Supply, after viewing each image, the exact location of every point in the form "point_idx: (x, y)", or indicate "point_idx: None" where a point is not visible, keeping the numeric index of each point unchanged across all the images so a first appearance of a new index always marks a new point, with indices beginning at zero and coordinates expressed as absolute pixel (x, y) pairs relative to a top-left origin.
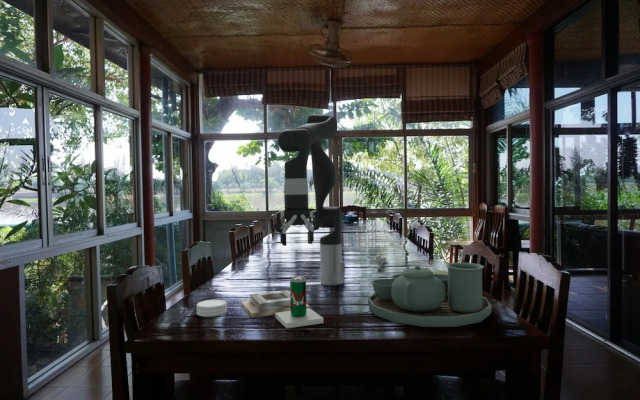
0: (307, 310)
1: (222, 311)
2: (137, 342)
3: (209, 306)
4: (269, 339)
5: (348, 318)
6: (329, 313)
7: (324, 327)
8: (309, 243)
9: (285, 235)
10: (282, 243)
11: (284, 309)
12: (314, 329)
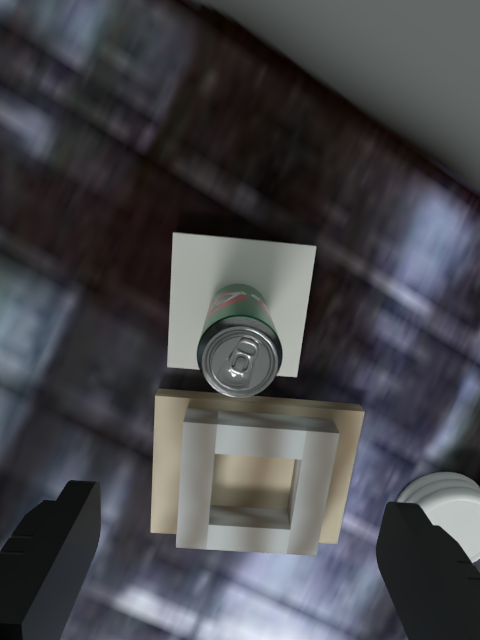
0: (185, 347)
1: (422, 484)
2: None
3: (478, 500)
4: (408, 169)
5: (71, 232)
6: (110, 320)
7: (194, 184)
8: (98, 497)
9: (474, 617)
10: (440, 530)
11: (249, 401)
12: (234, 183)
